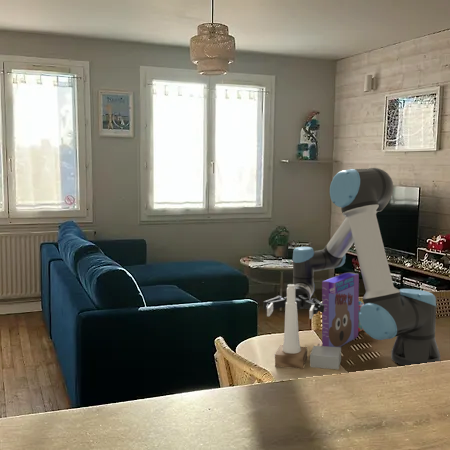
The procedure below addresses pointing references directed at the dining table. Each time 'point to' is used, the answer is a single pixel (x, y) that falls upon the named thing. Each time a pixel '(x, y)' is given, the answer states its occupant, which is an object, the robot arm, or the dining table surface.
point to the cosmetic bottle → (291, 323)
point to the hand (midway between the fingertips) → (289, 313)
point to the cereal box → (340, 309)
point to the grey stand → (325, 357)
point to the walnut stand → (290, 358)
